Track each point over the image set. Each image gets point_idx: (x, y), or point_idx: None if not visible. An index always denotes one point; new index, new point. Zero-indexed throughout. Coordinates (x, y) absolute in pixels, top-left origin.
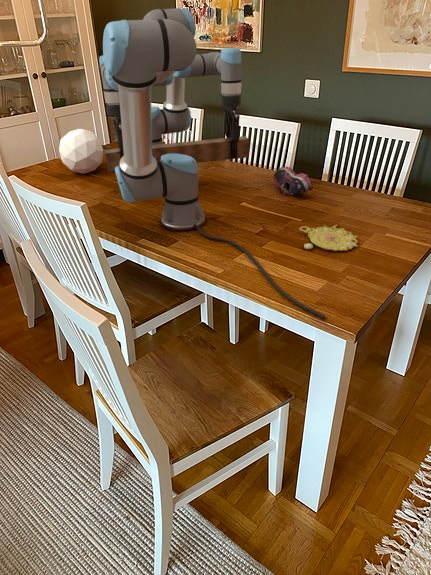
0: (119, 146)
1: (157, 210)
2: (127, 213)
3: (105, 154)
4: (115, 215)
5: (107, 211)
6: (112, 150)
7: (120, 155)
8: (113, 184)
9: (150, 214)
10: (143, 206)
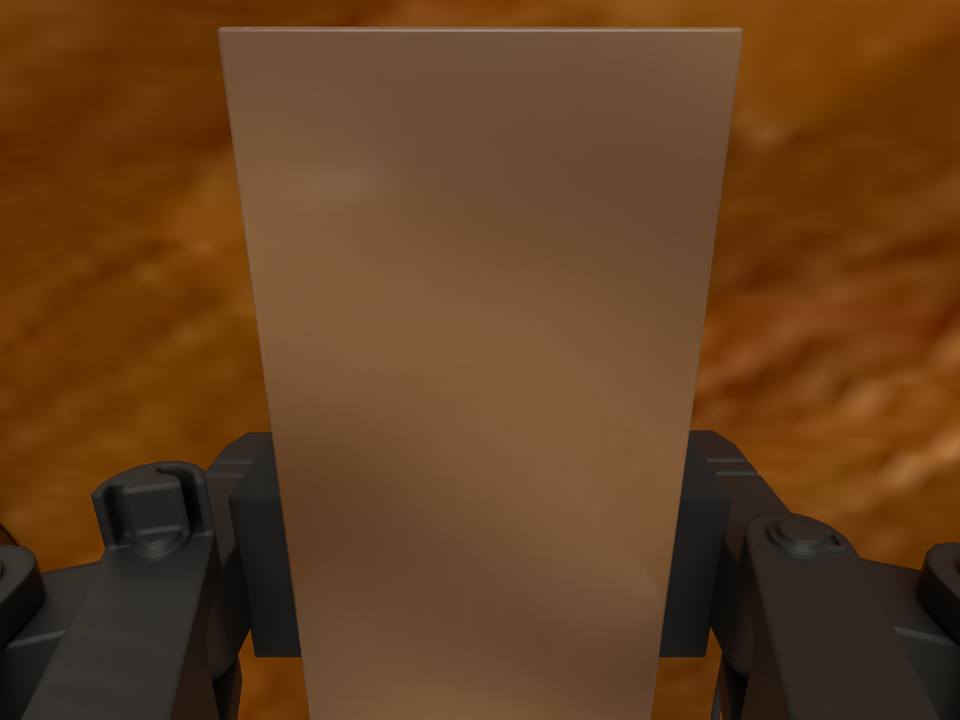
0: (48, 670)
1: (125, 459)
2: (88, 226)
3: (240, 44)
4: (50, 111)
5: (160, 36)
6: (508, 321)
7: (254, 466)
8: (924, 153)
9: (49, 402)
10: (228, 371)
